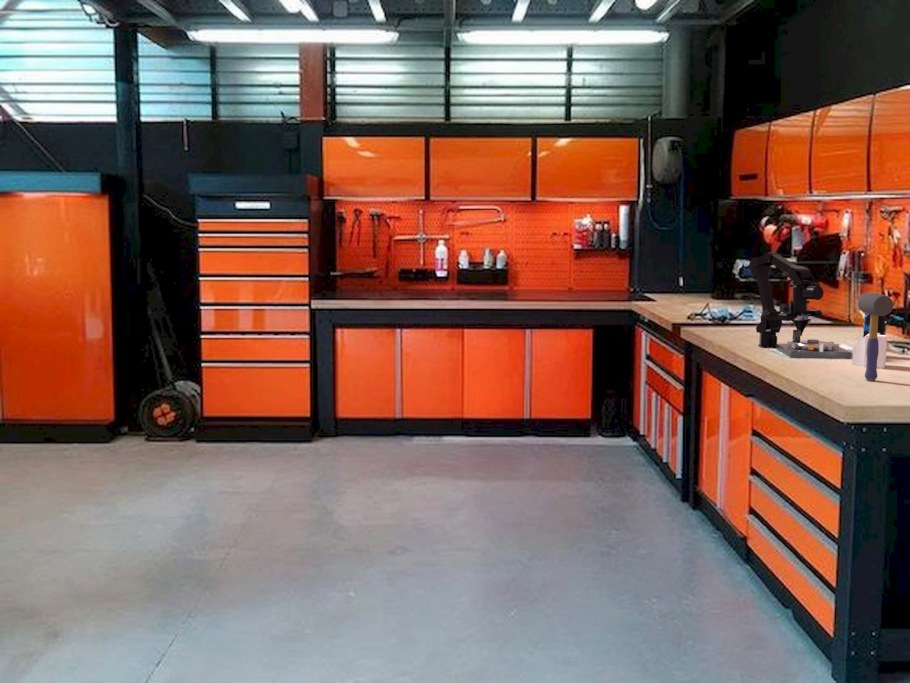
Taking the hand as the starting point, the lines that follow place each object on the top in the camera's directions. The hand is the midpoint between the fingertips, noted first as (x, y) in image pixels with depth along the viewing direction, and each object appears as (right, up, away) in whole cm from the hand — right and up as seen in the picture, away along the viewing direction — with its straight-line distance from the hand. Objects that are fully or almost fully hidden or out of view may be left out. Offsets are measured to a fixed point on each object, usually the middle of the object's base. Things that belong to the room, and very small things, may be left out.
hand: (800, 335), depth 392 cm
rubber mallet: (-1, -16, -68) cm, 70 cm away
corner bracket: (+13, -12, -35) cm, 39 cm away
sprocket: (+4, -5, -4) cm, 7 cm away
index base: (+4, -7, -4) cm, 9 cm away
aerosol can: (+26, -8, -10) cm, 29 cm away
